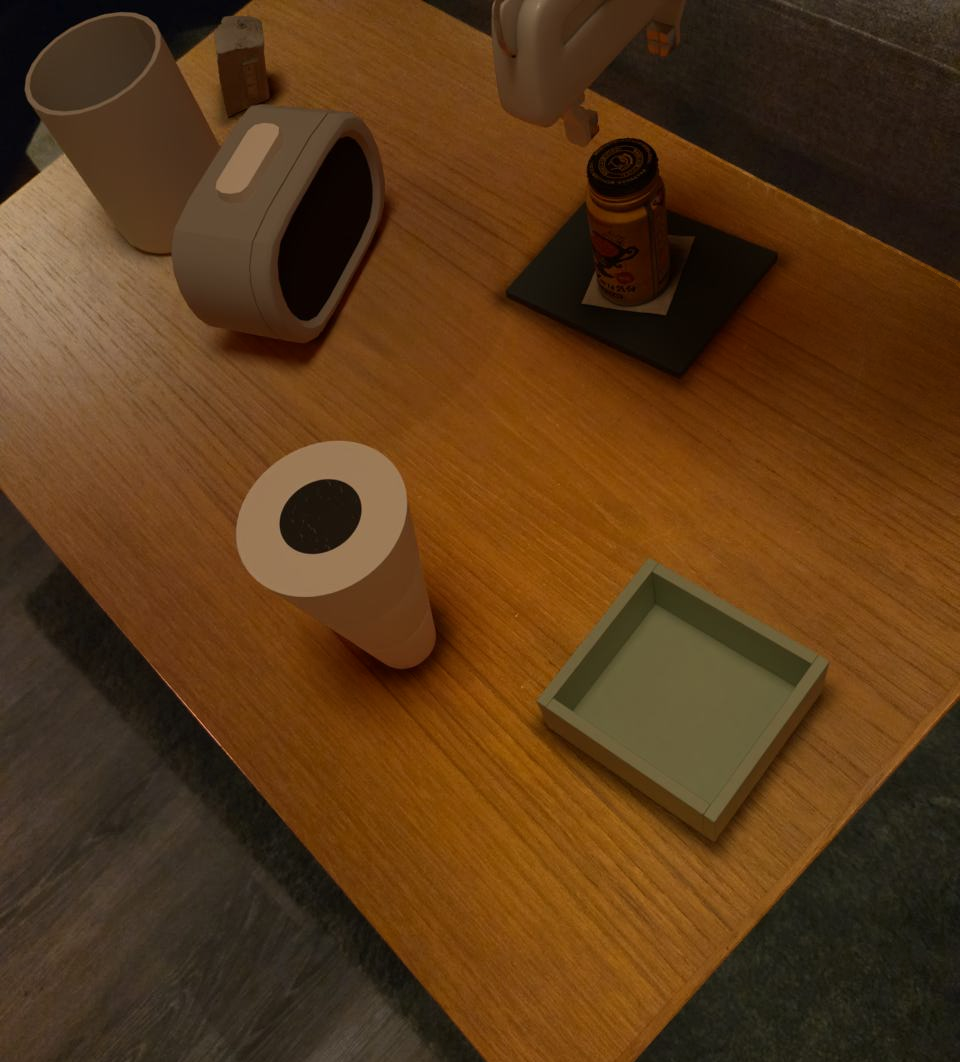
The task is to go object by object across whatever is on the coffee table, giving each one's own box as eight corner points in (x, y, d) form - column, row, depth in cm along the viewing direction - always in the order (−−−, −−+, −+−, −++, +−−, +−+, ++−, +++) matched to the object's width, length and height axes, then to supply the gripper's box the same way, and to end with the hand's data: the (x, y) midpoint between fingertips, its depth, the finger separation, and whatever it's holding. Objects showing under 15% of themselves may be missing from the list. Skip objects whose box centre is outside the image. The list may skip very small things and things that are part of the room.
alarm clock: (310, 374, 87) (246, 261, 75) (222, 357, 90) (147, 245, 78) (400, 203, 93) (354, 73, 81) (315, 192, 97) (259, 66, 85)
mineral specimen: (230, 132, 102) (189, 53, 96) (226, 99, 108) (188, 22, 101) (294, 104, 101) (258, 22, 95) (287, 72, 107) (252, -8, 101)
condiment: (581, 305, 83) (562, 189, 72) (612, 230, 85) (598, 107, 75) (665, 317, 80) (658, 199, 69) (695, 239, 83) (692, 114, 72)
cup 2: (386, 734, 71) (291, 631, 55) (312, 634, 76) (206, 513, 60) (502, 645, 72) (442, 519, 56) (422, 551, 77) (346, 410, 61)
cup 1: (147, 278, 97) (49, 138, 82) (91, 181, 105) (-7, 39, 91) (260, 211, 97) (182, 59, 83) (195, 119, 105) (114, -32, 91)
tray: (821, 692, 66) (830, 660, 61) (714, 842, 63) (714, 822, 58) (653, 592, 71) (648, 556, 66) (548, 727, 69) (535, 700, 64)
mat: (777, 259, 81) (778, 252, 80) (679, 379, 78) (679, 373, 78) (601, 190, 89) (600, 183, 88) (506, 297, 86) (505, 290, 85)
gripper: (533, 1, 52) (570, 209, 64) (750, -225, 56) (746, 11, 68) (445, -25, 55) (497, 179, 67) (659, -239, 59) (670, -9, 71)
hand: (624, 93), depth 68 cm, fingers open, 8 cm apart
